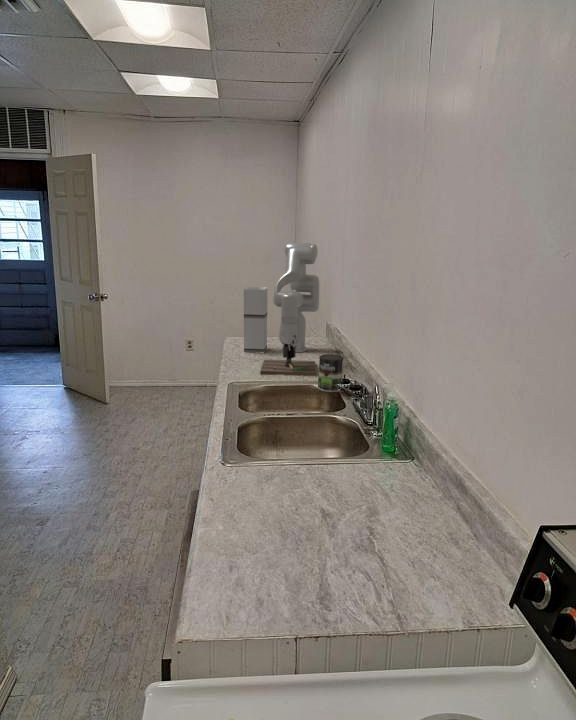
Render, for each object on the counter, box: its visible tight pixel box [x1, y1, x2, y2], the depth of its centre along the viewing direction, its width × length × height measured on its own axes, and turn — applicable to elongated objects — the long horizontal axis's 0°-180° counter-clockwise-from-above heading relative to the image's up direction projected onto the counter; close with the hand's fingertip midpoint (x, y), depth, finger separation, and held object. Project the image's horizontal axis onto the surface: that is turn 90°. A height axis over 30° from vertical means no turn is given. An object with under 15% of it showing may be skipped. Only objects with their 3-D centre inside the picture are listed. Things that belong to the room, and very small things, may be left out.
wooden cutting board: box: [260, 359, 317, 377], centre depth 251 cm, size 22×26×3 cm
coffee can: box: [317, 353, 345, 393], centre depth 219 cm, size 10×10×14 cm
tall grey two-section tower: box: [243, 286, 268, 353], centre depth 285 cm, size 11×11×35 cm
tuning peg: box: [282, 346, 297, 370], centre depth 247 cm, size 11×6×9 cm, turn 10°
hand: (288, 356), depth 250 cm, fingers closed on tuning peg, 3 cm apart
